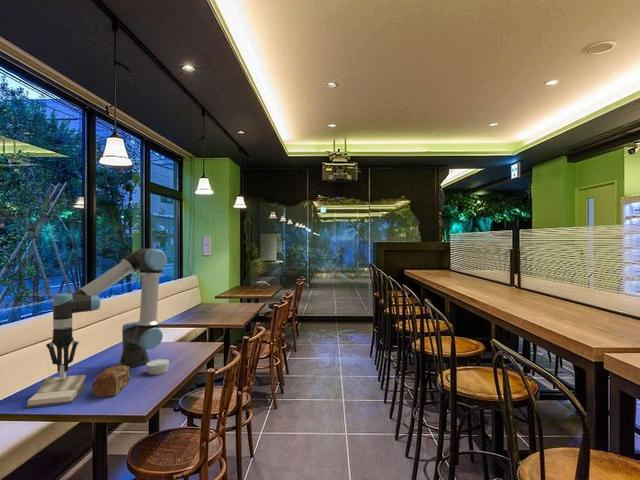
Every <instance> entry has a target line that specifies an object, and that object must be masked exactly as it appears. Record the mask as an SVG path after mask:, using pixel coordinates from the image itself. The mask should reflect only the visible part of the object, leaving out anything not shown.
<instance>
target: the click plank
mask: <svg viewBox="0 0 640 480" xmlns="http://www.w3.org/2000/svg"><path fill="white" fill-rule="evenodd" d="M85 381H86V374H79V375H78V374H77V375H68V376H67V375H66V378H65V379H63V380H60V376H56V377H47V378H45V380H44V382H43V383H42V384H41V386H39V388H38V390H37V391H36V393H45V392H55V391H65V390H75V389H77V393H78V392H79V390H80V388H81V386H82V385H84V384H83V383H84V382H85Z"/></svg>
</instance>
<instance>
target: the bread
mask: <svg viewBox="0 0 640 480" xmlns="http://www.w3.org/2000/svg"><path fill="white" fill-rule="evenodd" d="M130 380H131V367H129V366H124V365H119V364H118V365H112V366H111V367H108V368H106V369H104V370H102V371H101V372H100V373H98V374H97V375H96V376H95V378H94V379H93V382H92V391H93V397H96V398H109V397H115V396H117V395H118V394H119V393H120V392H121V391H123V390H124V389H125V387H126V386H127V385H128V384H129V383H130Z"/></svg>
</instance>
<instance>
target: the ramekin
mask: <svg viewBox="0 0 640 480" xmlns="http://www.w3.org/2000/svg"><path fill="white" fill-rule="evenodd" d="M169 365H170V360H169V359H166V358H163V359H162V358H161V359H158V358H157V359H154V360H153V359H152V360H149V362H148V363H147V364H145V367H146V371H147V373H148V374H149V375H151V376H157V375H158V376H159V375H163V374H165V373H167V372H168V370H169Z"/></svg>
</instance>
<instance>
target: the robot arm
mask: <svg viewBox="0 0 640 480" xmlns="http://www.w3.org/2000/svg"><path fill="white" fill-rule="evenodd" d="M167 264H168V257H167V254H165V252H164V251H163V250H162V249H160V248H155V247H154V248H139V249H137V250H135V251H133V252H132V253H130V254H129V255H127V256H125V257H124V258H122V259H121V260H120V263H118V264H117V265H115V266H113V267H112V268H110V269H108V271H106V272H104V273H102V274H101V275H99V276H98V277H96V278H95V279H94V280H91V282H89V283H87V284H86V285H84V286H83V287H81V288H80V289H78V290H76V291H75V292H71V293H68V292H67V293H57V294H55V295H53V298H52V316H53V317H52V327H53V330H52V340H51V341H50V342H48V343H47V344H45V347H46V348H47V349H48V351H49V355H50V359H51V363H52V365H56V367H57V373H59V377H60V380H63V379H65V378H66V376H67V372H68V371H69V364H71V363H73V361H74V358H75V354H76V350H77V346H78V345H79V344H80V341H79V340H75V339H74V336H73V314H78V313H85V312H95V311H98V310H99V309H100V308H101V299H100V296H99V295H100V294H102V293H103V292H104V291H106V290H107V289H109V288H110V287H112V286H113V285H115V284H116V283H118V282H120V281H121V280H123V278H125V277H126V276H128V275H129V274H135V273H136V272H138V271H139V274H140V276H141V287H140V289H141V292H140V305H139V306H140V307H139V320H138V321H135V322H128V323H125V324H123V325H122V329H121V332H122V334H121V335H122V352H121V355H120V359H119V364H118V365H124V366H129V367H130V368H135V367H141V366H144V365H146V364H147V363H148V362H150V357H149V354H148V351H147V350H154V349H156V348H157V347H159V345H160V344H161V343H162V340H163V337H164V336H163V335H164V334H163V331H162V330H161V329H160V322H159V321H158V320H157V318H158V303H159V288H160V287H159V286H160V276H161V275H162V274H163V269H164V268H165V267H166V266H167ZM71 345H72V347H71V350H69V348H70V346H71ZM54 346H55V347H54ZM55 348H56V351H55ZM69 351H70V353H69ZM69 354H70V355H69Z"/></svg>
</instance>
